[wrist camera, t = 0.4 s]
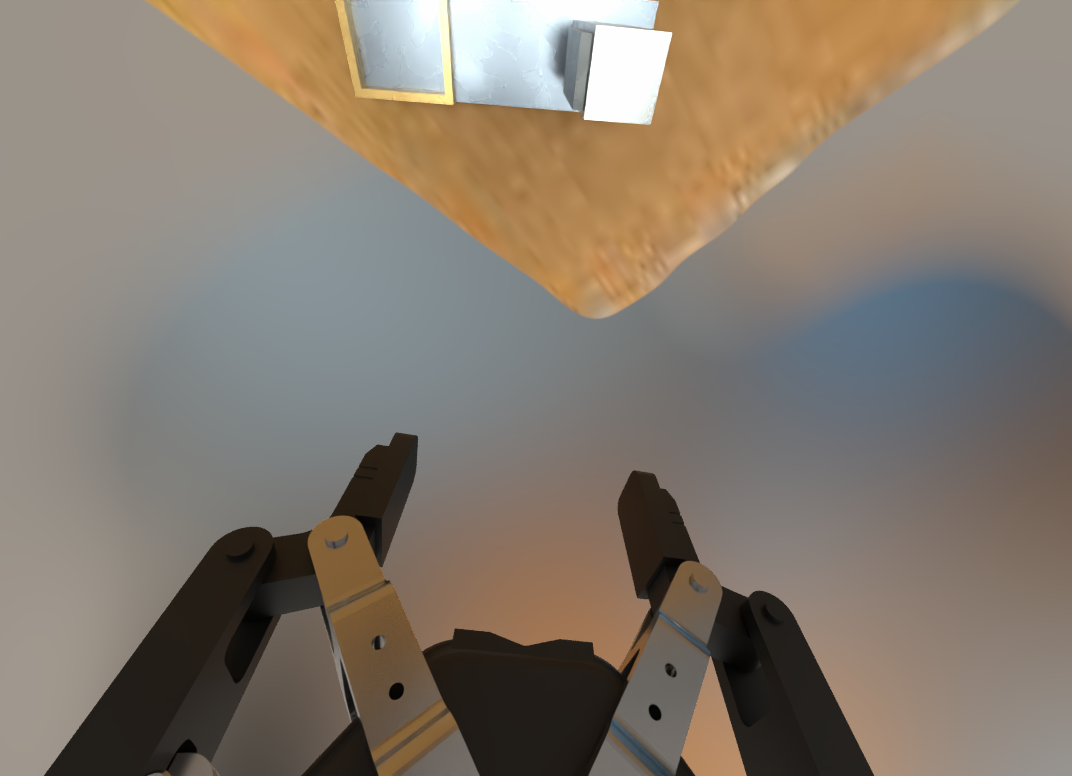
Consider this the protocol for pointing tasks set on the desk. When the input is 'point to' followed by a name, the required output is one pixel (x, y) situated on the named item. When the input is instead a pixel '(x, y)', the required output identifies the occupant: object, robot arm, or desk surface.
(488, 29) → the rail
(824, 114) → the desk surface
